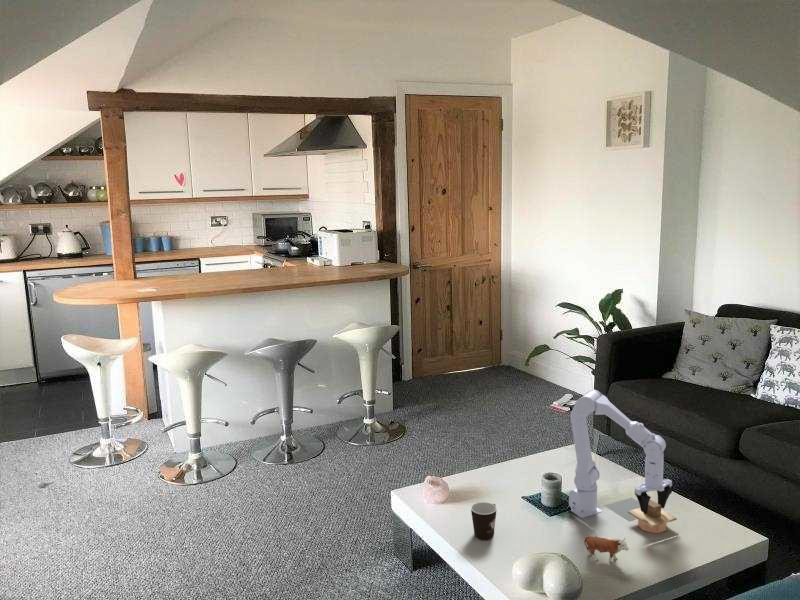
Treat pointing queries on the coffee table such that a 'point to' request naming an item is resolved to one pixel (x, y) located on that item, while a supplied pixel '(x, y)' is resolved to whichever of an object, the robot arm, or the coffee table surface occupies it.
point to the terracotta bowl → (652, 529)
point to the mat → (624, 507)
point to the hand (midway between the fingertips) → (652, 509)
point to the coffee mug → (483, 520)
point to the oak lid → (652, 515)
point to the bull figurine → (605, 546)
